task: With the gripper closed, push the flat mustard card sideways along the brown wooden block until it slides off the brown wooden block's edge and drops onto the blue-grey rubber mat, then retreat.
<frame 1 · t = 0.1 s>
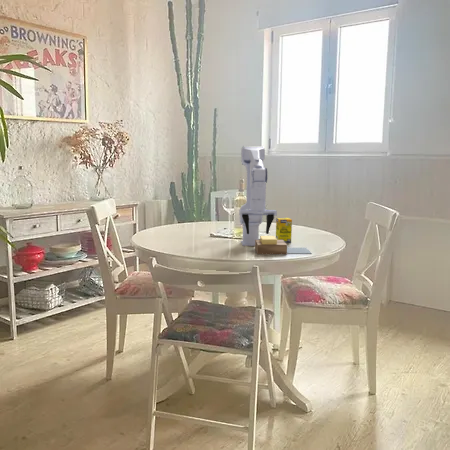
hand: (257, 233, 190), 10 cm above the table, fingers open, 7 cm apart
mat: (297, 250, 206), on the table
supplement box: (283, 242, 226), on the table
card: (268, 242, 204), point 4 cm above the table, touching brown wooden block
brown wooden block: (270, 251, 204), on the table
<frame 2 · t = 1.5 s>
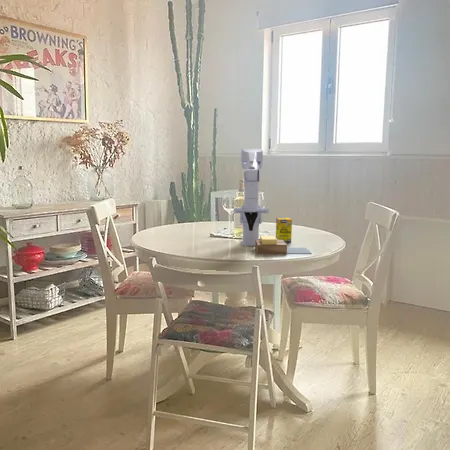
hand: (250, 230, 203), 9 cm above the table, fingers closed
nothing on the table moved.
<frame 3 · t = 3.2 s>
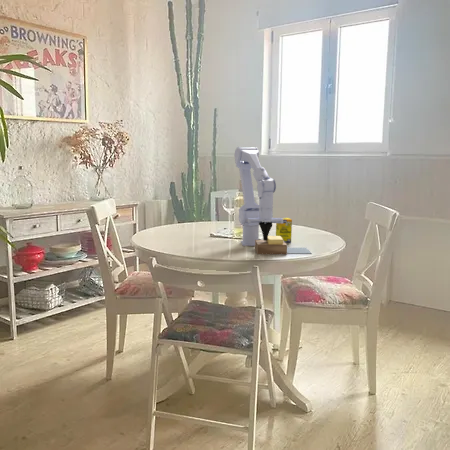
hand: (265, 240, 204), 5 cm above the table, fingers closed
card: (274, 242, 204), point 4 cm above the table, touching brown wooden block, gripper
everything else where it was.
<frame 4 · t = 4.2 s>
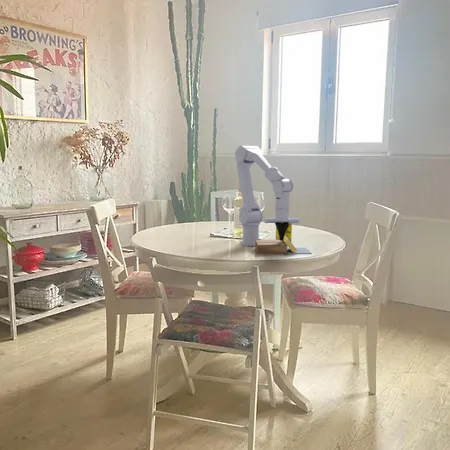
hand: (281, 240, 204), 5 cm above the table, fingers closed, pressing on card
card: (287, 245, 204), point 3 cm above the table, tilted 52°, touching gripper, mat
everything else where it was.
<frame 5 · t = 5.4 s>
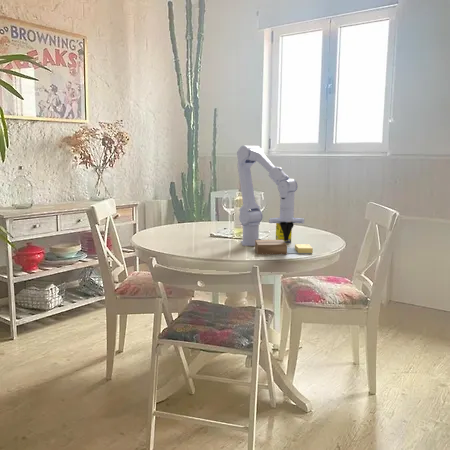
hand: (286, 240, 204), 5 cm above the table, fingers closed
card: (303, 246, 205), point 2 cm above the table, tilted 180°, touching mat
everything else where it was.
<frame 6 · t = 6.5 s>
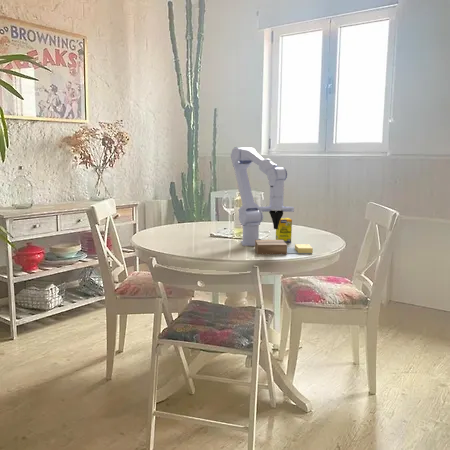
hand: (275, 228, 203), 10 cm above the table, fingers closed
nothing on the table moved.
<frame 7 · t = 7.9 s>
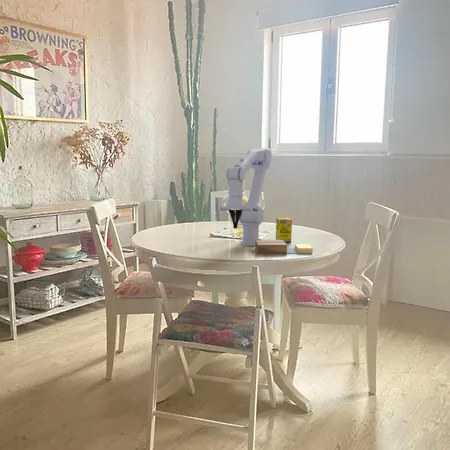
hand: (235, 228, 203), 10 cm above the table, fingers closed
nothing on the table moved.
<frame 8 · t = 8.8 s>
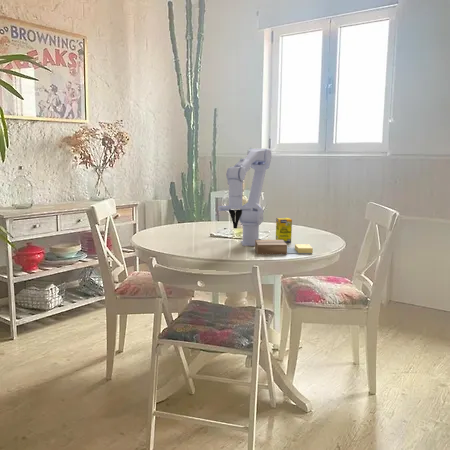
hand: (235, 228, 203), 10 cm above the table, fingers closed
nothing on the table moved.
at the end: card point 2.3 cm above the table; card inside the target area on the mat (2.7 cm from its centre), point 2.3 cm above the mat's base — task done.
